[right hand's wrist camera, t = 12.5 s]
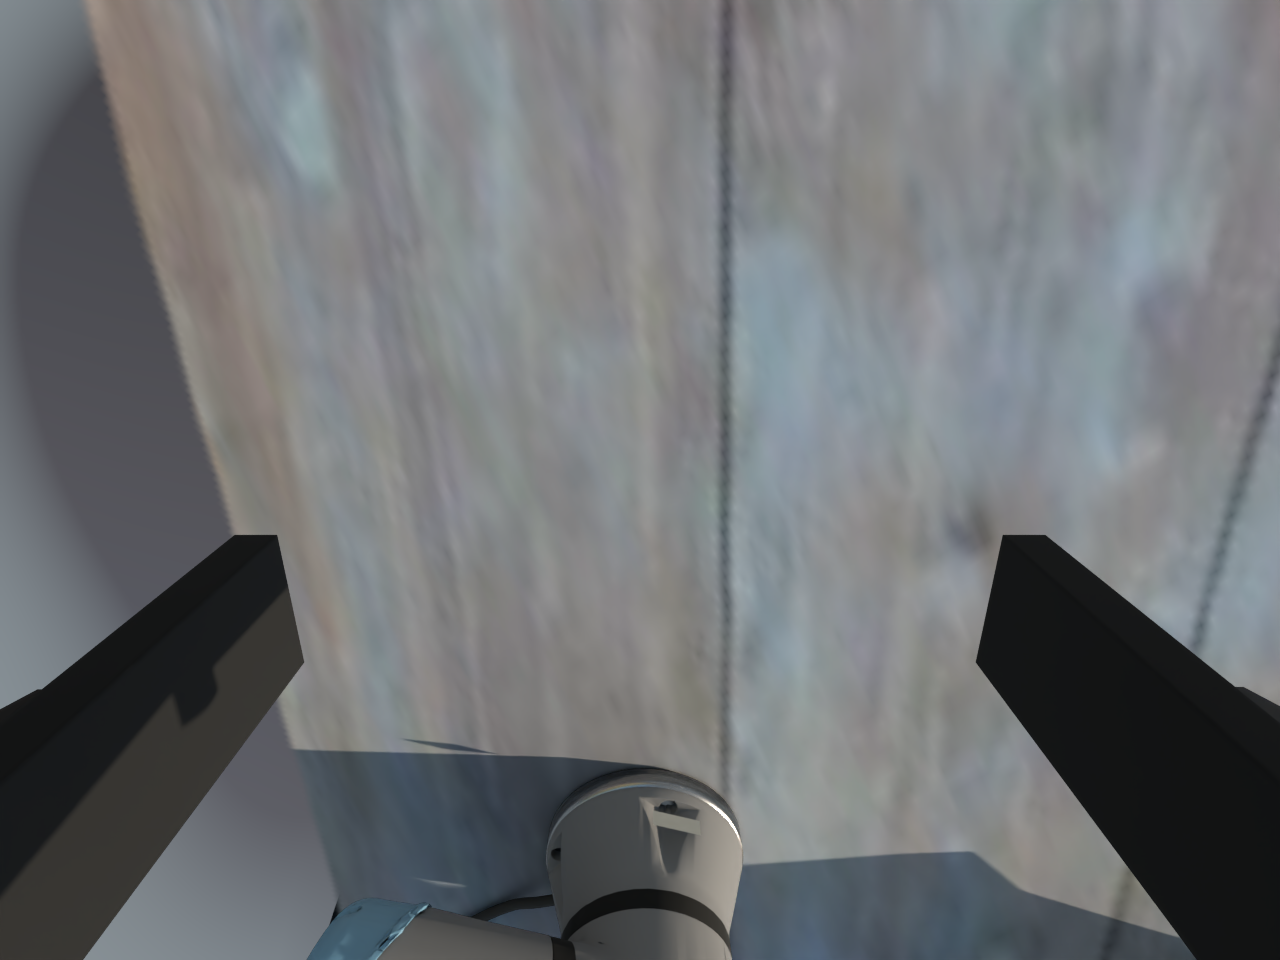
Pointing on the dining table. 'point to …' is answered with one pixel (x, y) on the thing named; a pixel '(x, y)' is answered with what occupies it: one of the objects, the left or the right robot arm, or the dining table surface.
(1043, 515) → the dining table surface
